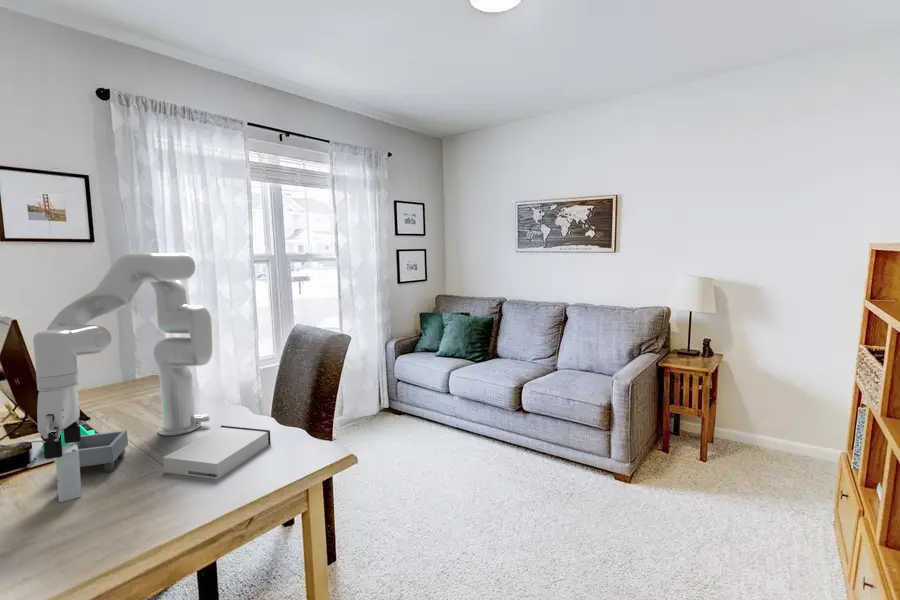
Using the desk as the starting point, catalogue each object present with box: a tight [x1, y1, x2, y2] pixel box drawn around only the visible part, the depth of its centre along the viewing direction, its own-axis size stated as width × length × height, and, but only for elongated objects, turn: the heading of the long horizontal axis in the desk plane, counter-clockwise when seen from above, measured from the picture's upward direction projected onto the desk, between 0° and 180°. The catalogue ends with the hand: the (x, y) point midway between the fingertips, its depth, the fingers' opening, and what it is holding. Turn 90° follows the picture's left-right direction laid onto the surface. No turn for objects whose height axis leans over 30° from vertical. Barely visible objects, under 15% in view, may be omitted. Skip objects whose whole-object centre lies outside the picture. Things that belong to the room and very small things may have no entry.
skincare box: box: [55, 443, 83, 503], centre depth 111 cm, size 6×4×12 cm
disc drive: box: [162, 425, 272, 480], centre depth 132 cm, size 18×22×5 cm
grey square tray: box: [68, 429, 129, 473], centre depth 126 cm, size 12×12×8 cm
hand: (63, 449), depth 110 cm, fingers open, 9 cm apart
